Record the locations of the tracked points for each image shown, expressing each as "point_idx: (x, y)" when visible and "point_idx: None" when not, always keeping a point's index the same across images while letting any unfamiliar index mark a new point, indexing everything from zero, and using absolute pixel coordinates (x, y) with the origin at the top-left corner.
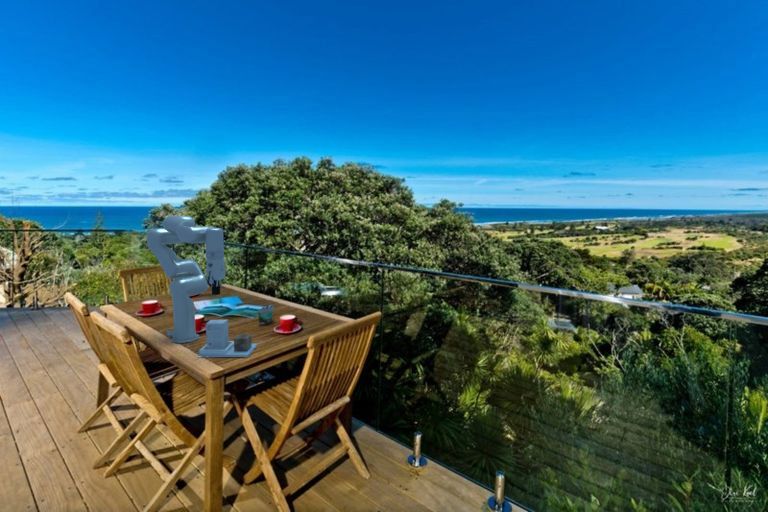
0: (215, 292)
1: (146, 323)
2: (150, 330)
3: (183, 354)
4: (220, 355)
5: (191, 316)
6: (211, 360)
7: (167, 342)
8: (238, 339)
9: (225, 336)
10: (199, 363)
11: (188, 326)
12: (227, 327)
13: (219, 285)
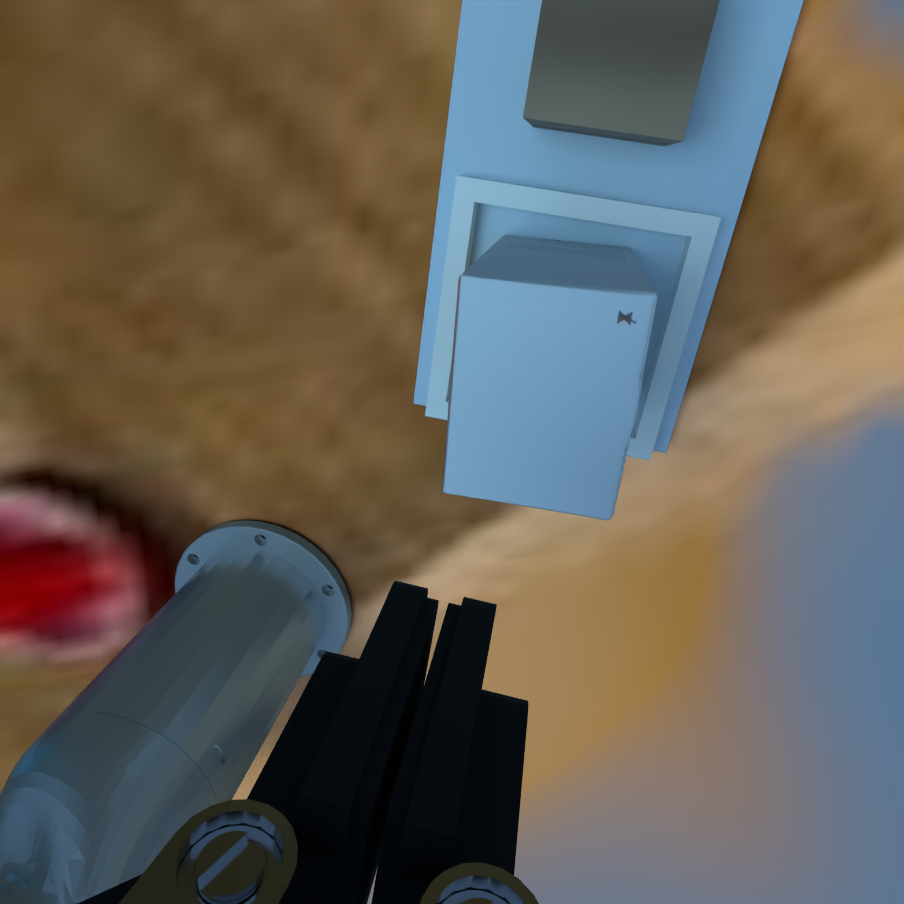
0: (522, 730)
1: None
2: None
3: (573, 553)
4: (720, 265)
5: (192, 680)
6: (764, 327)
7: None
8: (698, 76)
9: (602, 258)
10: (805, 407)
11: (262, 641)
12: (507, 261)
13: (274, 816)
